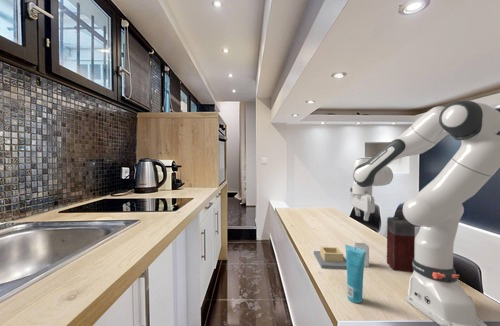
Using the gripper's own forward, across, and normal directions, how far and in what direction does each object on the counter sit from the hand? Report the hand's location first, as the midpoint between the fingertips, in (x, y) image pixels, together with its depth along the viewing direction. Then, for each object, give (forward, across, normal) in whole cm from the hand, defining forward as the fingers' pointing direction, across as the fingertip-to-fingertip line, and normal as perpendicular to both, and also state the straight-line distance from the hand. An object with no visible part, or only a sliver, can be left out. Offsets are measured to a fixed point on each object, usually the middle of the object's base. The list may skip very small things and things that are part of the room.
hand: (361, 218), depth 115 cm
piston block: (+23, 0, 0) cm, 23 cm away
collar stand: (+23, +3, +14) cm, 27 cm away
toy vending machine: (+23, 0, -18) cm, 29 cm away
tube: (+23, -31, +15) cm, 42 cm away
